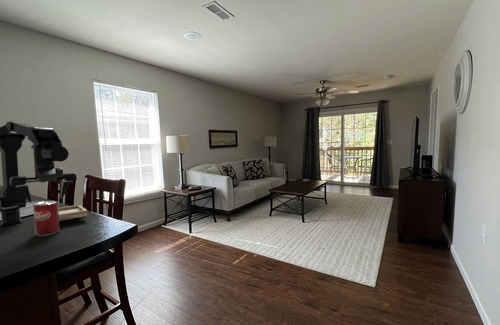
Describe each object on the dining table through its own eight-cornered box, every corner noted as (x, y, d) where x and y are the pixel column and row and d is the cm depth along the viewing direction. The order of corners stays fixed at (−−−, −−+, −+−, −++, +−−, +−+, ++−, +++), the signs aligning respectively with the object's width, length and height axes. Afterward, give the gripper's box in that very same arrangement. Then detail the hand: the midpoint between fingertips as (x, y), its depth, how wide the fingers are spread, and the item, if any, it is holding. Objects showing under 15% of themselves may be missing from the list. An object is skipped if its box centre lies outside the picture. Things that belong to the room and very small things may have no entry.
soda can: (45, 237, 86) (43, 205, 85) (30, 235, 88) (28, 204, 87) (64, 230, 93) (63, 201, 93) (50, 229, 95) (48, 200, 94)
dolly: (42, 221, 104) (41, 210, 104) (80, 214, 115) (79, 204, 114) (47, 228, 95) (46, 217, 95) (87, 220, 105) (87, 210, 105)
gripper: (10, 163, 76) (13, 209, 78) (79, 160, 90) (81, 200, 91) (8, 161, 84) (11, 203, 85) (72, 159, 98) (74, 195, 99)
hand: (46, 200), depth 90 cm, fingers open, 9 cm apart
